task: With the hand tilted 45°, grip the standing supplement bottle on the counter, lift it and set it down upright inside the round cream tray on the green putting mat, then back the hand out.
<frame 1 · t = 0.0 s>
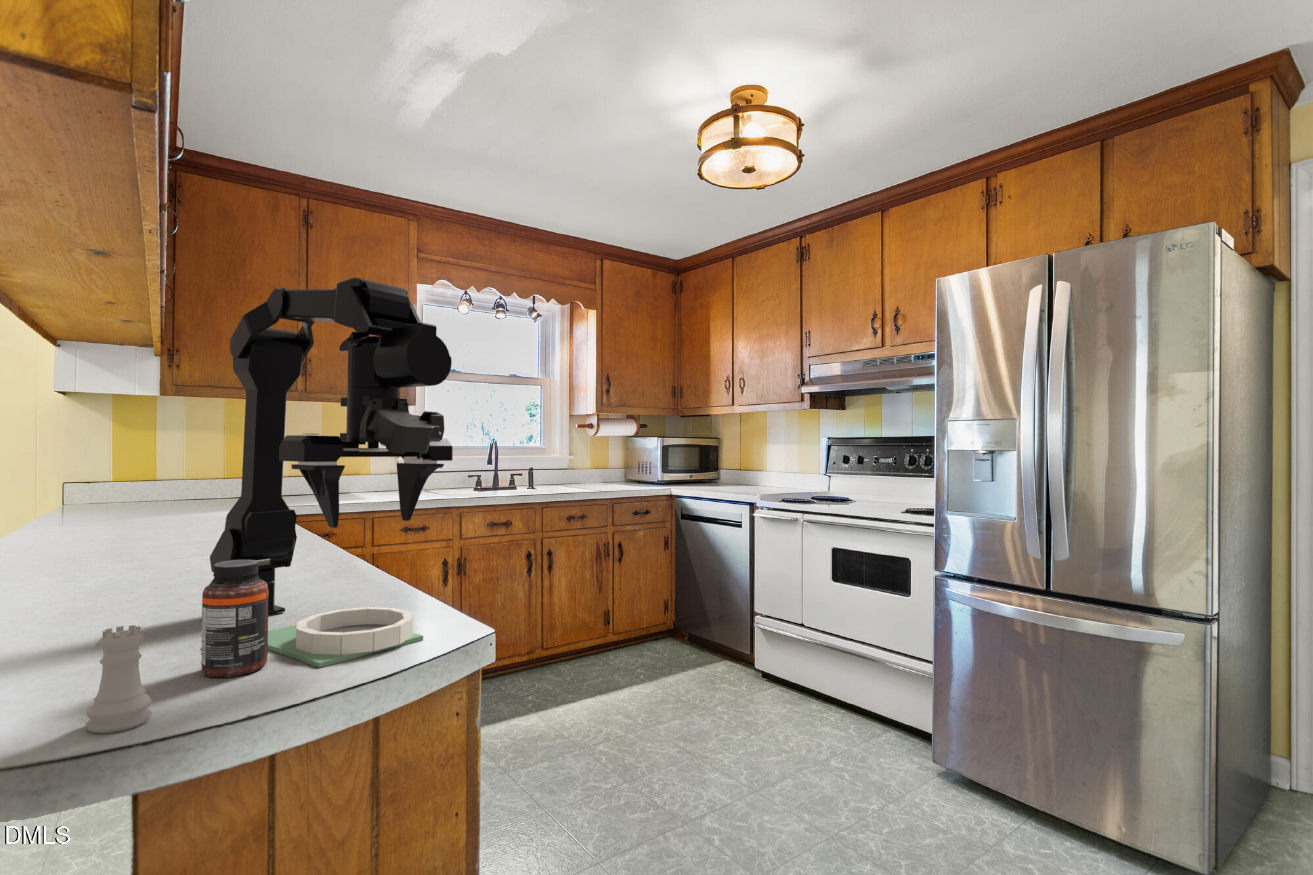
hand: (371, 523, 77), 15 cm above the countertop, tool pointing down, fingers open, 9 cm apart
supplement bottle: (234, 671, 70), on the countertop
round cream tray: (355, 642, 80), resting on putting mat
rook chess piece: (119, 726, 56), on the countertop
putting mat: (333, 639, 81), on the countertop
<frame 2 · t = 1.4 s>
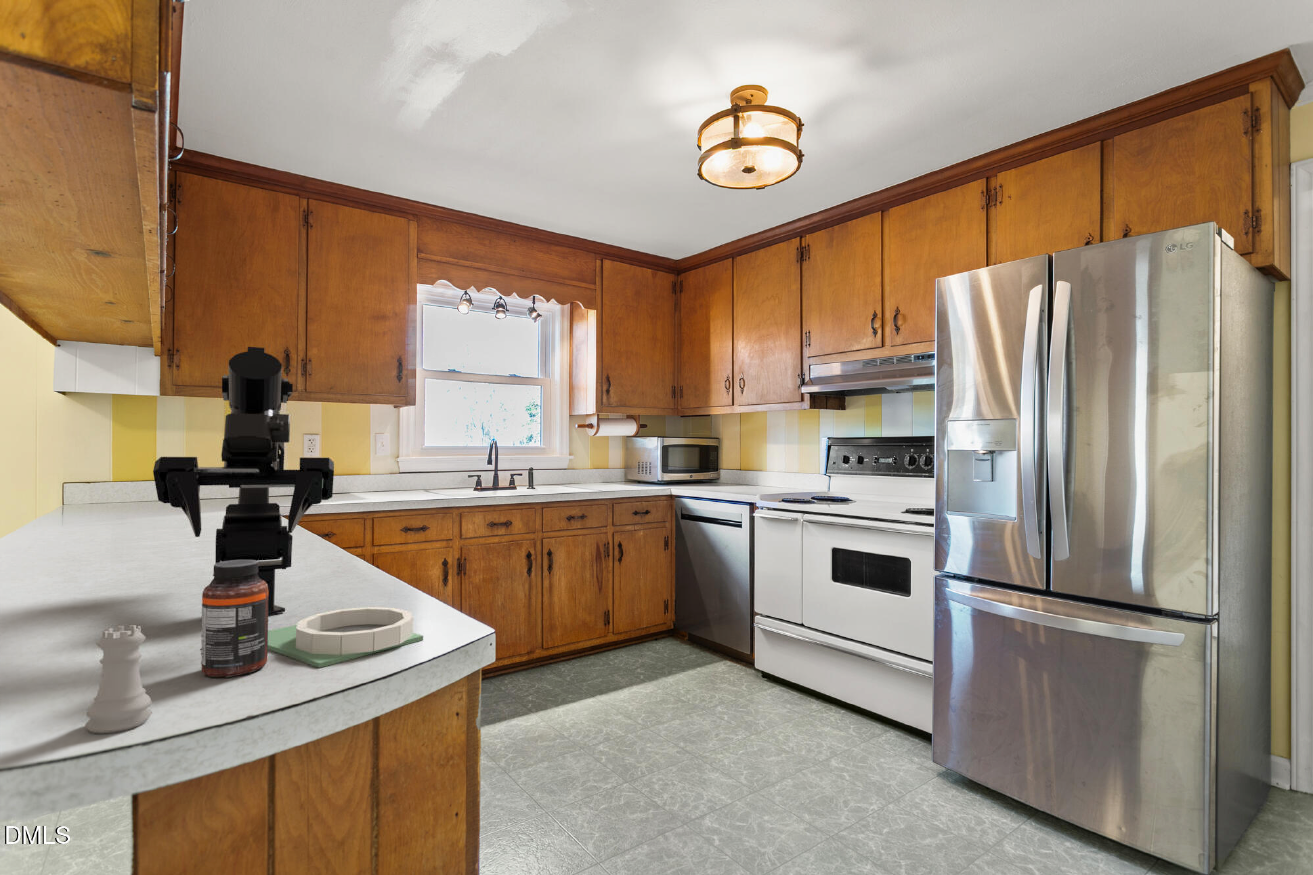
hand: (244, 532, 77), 13 cm above the countertop, tool tilted 45°, fingers open, 9 cm apart
nothing on the countertop moved.
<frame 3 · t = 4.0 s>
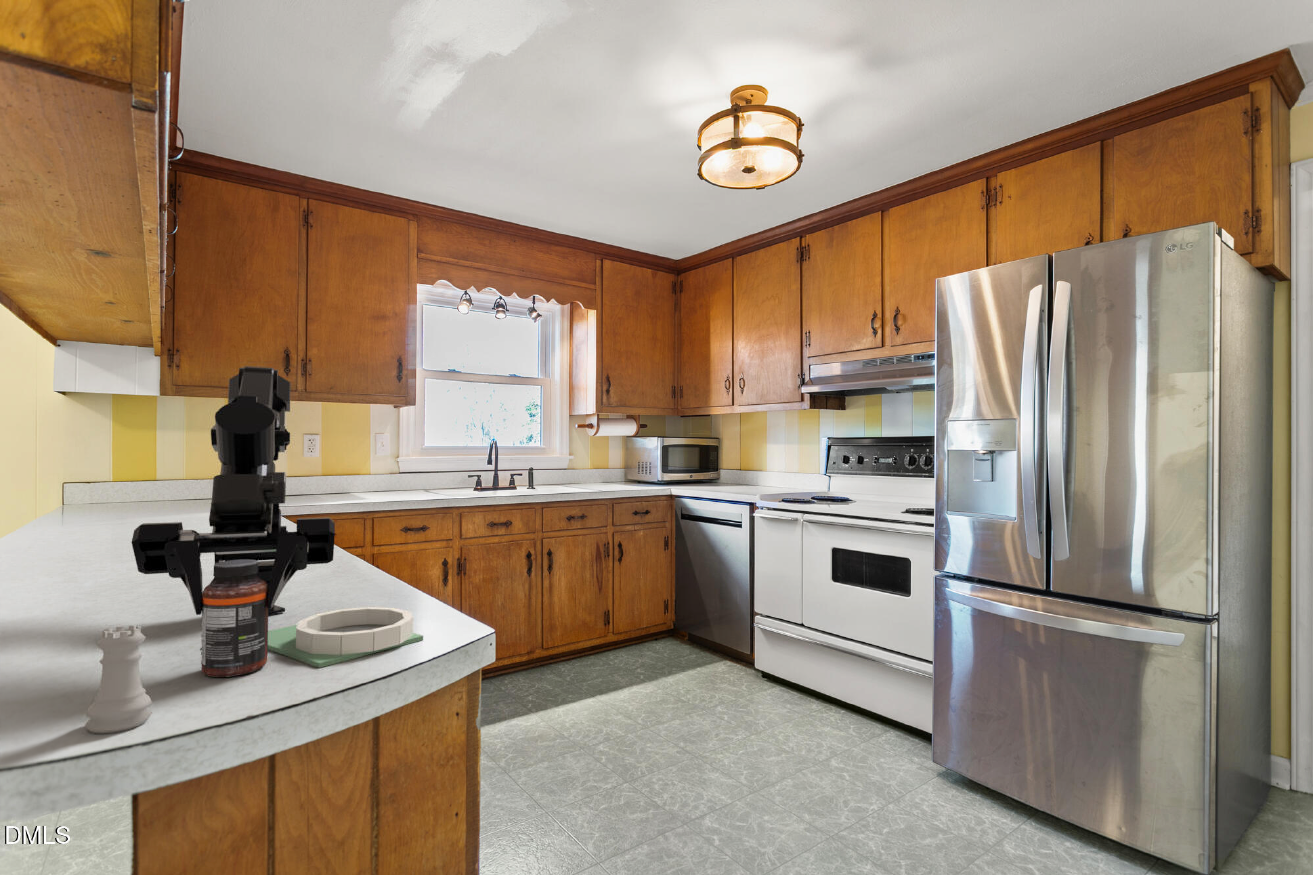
hand: (234, 609, 69), 7 cm above the countertop, tool tilted 45°, fingers closed on supplement bottle, 6 cm apart
supplement bottle: (234, 671, 70), on the countertop, touching gripper
everything else where it was.
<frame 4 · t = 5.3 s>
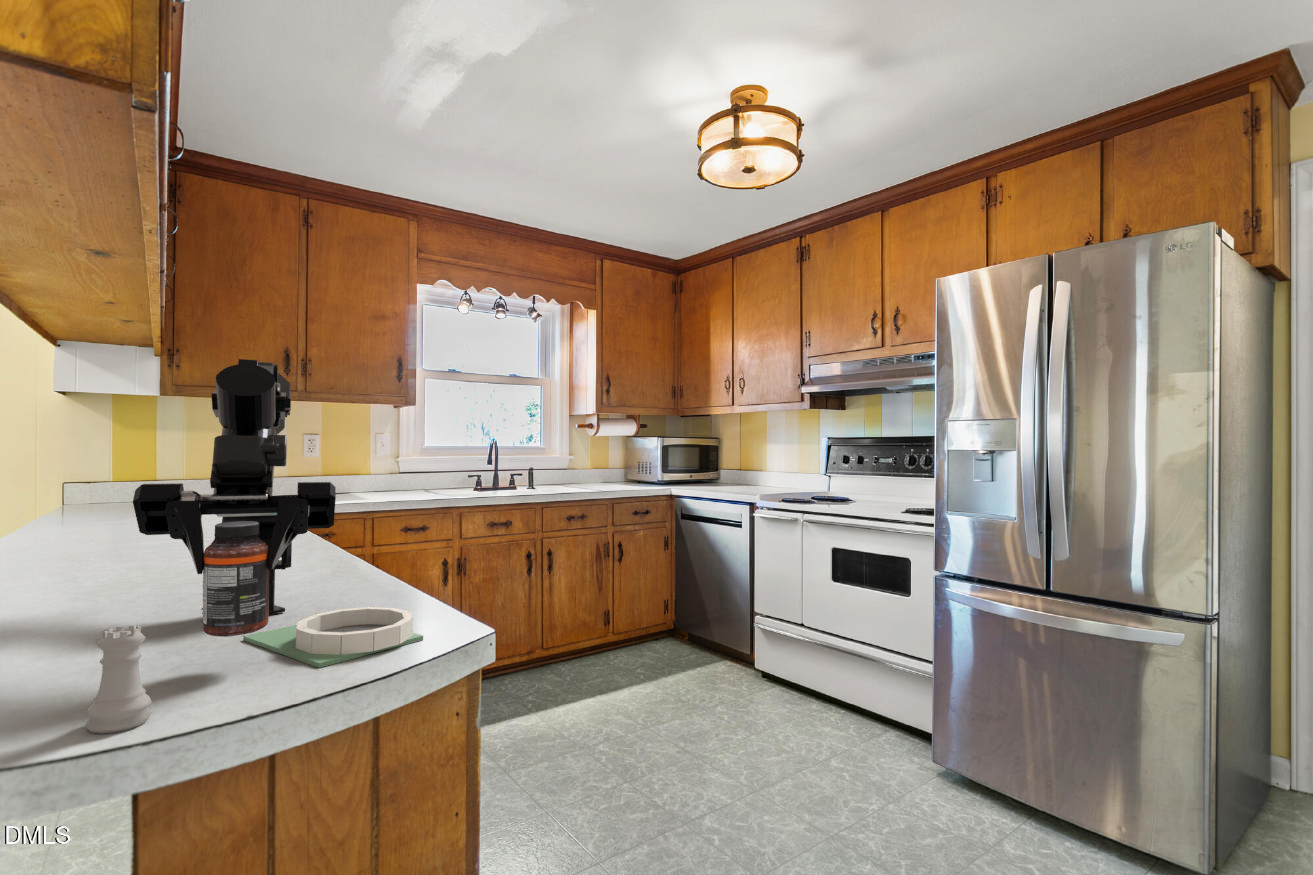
hand: (235, 569, 69), 11 cm above the countertop, tool tilted 45°, fingers closed on supplement bottle, 6 cm apart
supplement bottle: (235, 632, 70), point 4 cm above the countertop, touching gripper
everything else where it was.
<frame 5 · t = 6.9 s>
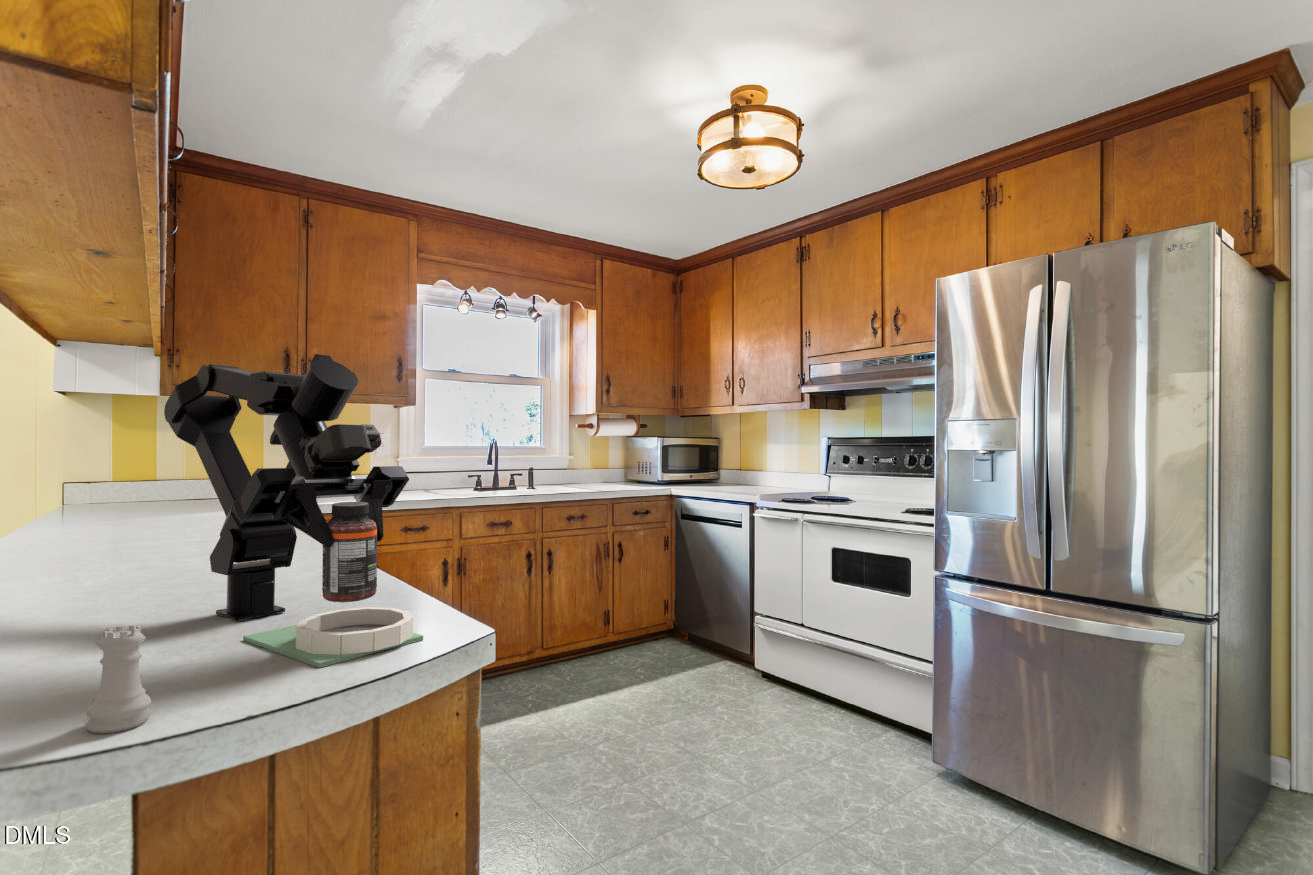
hand: (356, 542, 79), 12 cm above the countertop, tool tilted 45°, fingers closed on supplement bottle, 6 cm apart
supplement bottle: (349, 599, 80), point 5 cm above the countertop, touching gripper
everything else where it was.
when the fingers open (9 cm above the countertop, at t = 8.3 s): supplement bottle drops 1 cm, resting on round cream tray.
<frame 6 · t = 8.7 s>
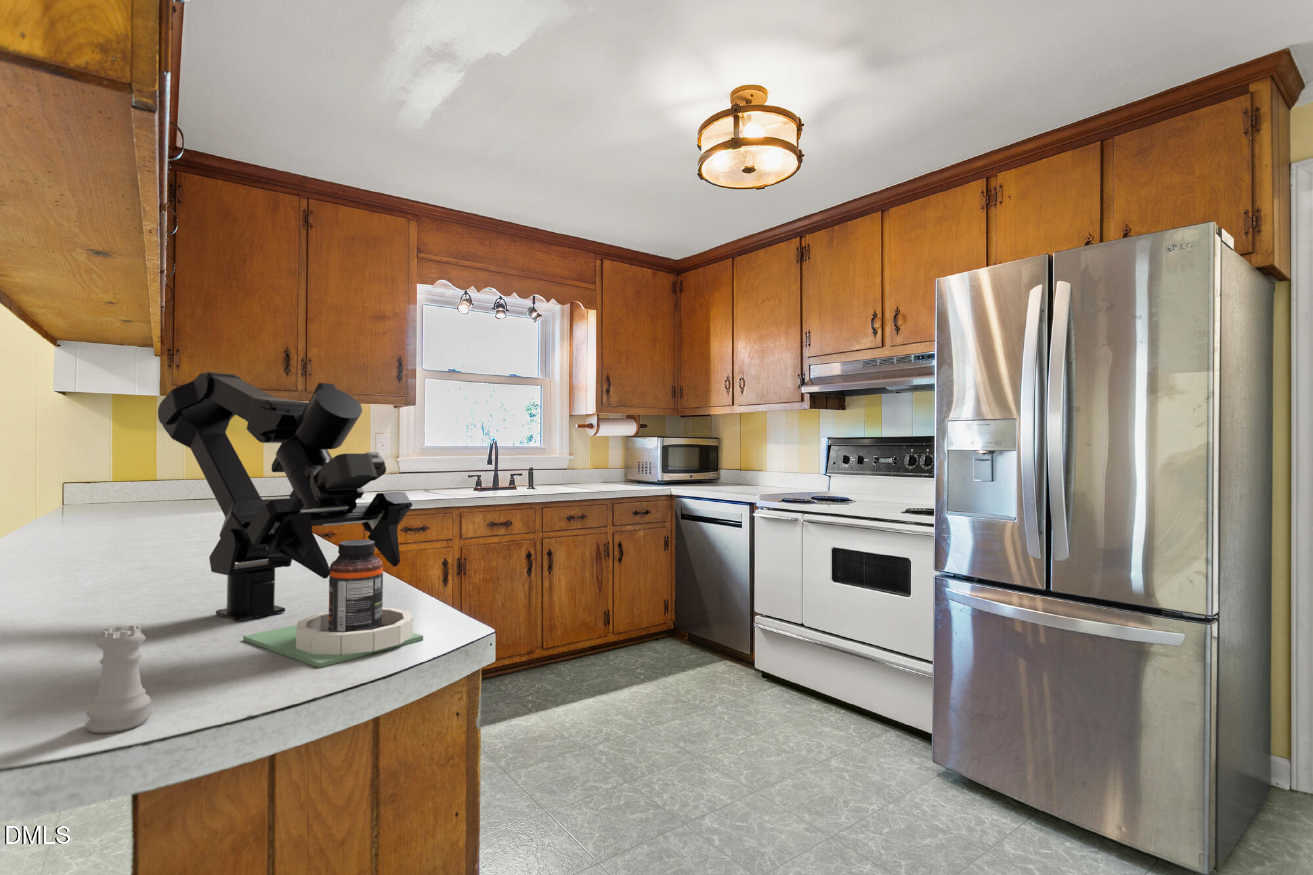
hand: (364, 570, 80), 9 cm above the countertop, tool tilted 45°, fingers open, 9 cm apart
supplement bottle: (355, 636, 80), point 1 cm above the countertop, touching round cream tray
everything else where it was.
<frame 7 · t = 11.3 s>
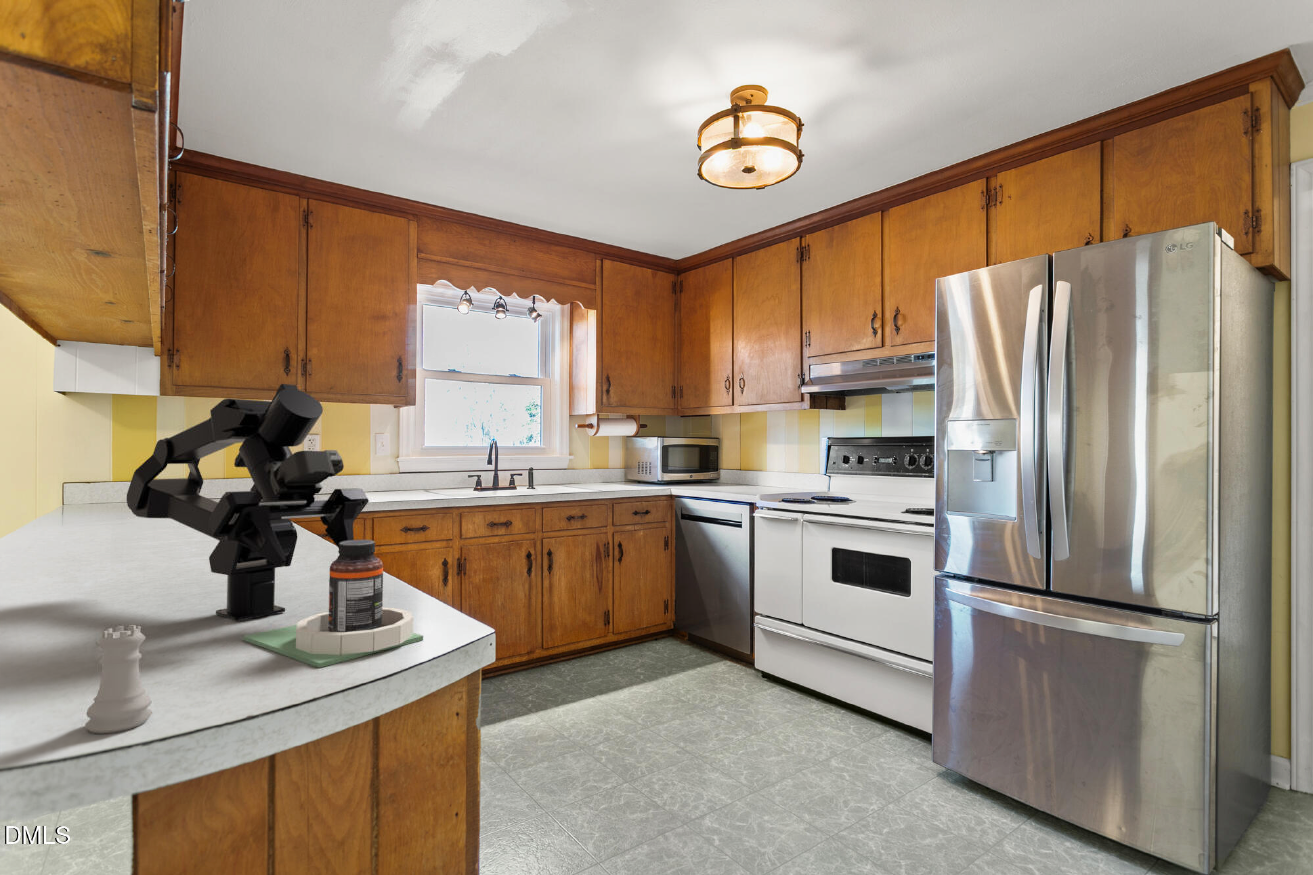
hand: (318, 560, 85), 9 cm above the countertop, tool tilted 45°, fingers open, 9 cm apart
nothing on the countertop moved.
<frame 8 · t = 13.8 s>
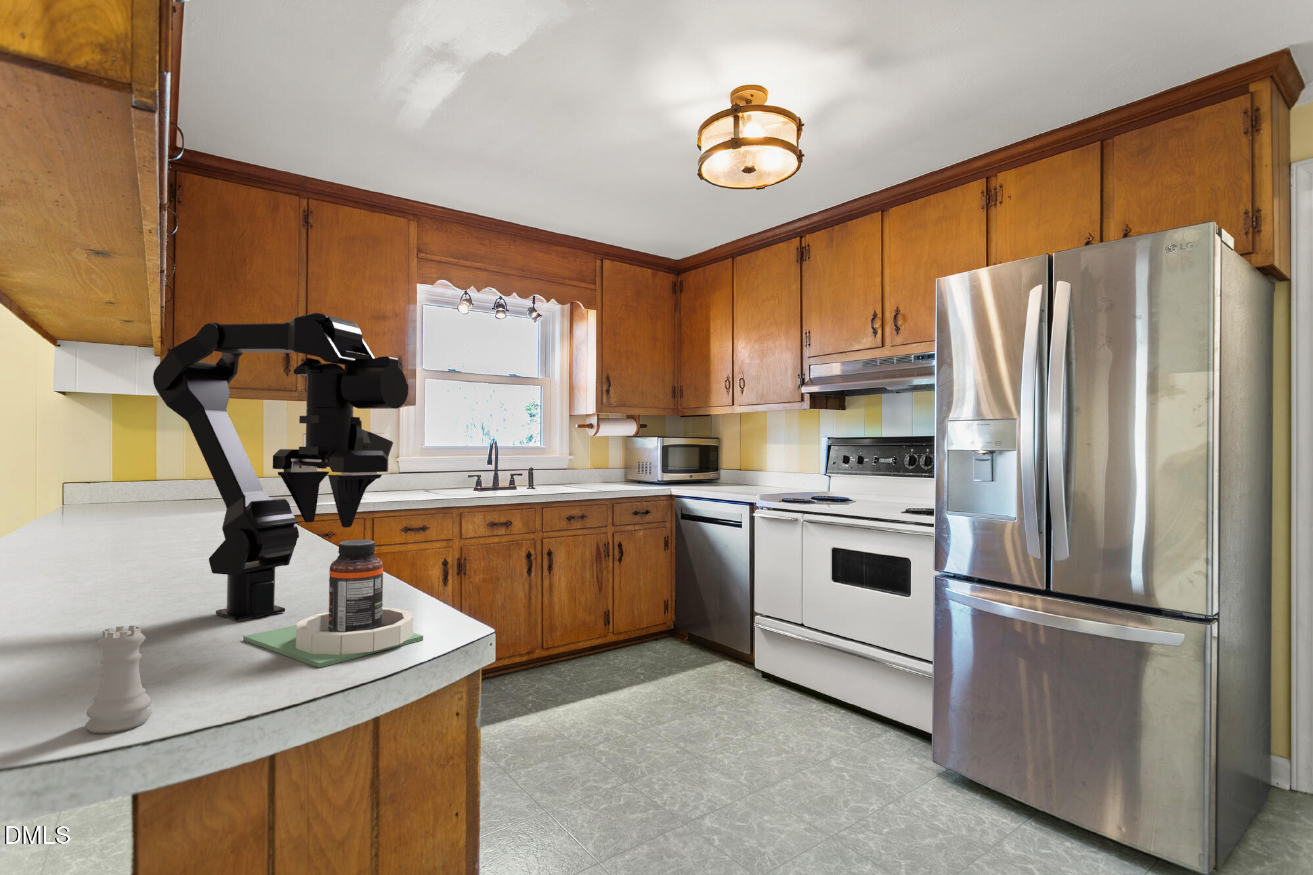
hand: (327, 524, 90), 13 cm above the countertop, tool pointing down, fingers open, 9 cm apart
nothing on the countertop moved.
at the end: supplement bottle 0.2 cm off-centre on the round cream tray, point 0.6 cm above the round cream tray's base; supplement bottle tilted 0°; the gripper is holding nothing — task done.
